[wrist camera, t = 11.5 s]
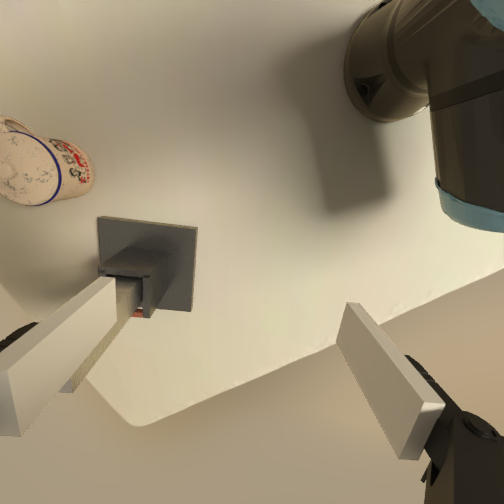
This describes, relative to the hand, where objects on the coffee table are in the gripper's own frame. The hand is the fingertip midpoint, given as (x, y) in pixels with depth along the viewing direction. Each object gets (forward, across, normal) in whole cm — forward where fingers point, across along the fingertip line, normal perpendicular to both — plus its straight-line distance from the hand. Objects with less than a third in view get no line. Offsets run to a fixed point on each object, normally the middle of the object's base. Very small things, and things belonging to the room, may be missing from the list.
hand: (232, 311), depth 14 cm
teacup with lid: (+31, -29, +5) cm, 43 cm away
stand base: (+31, -15, -11) cm, 36 cm away
